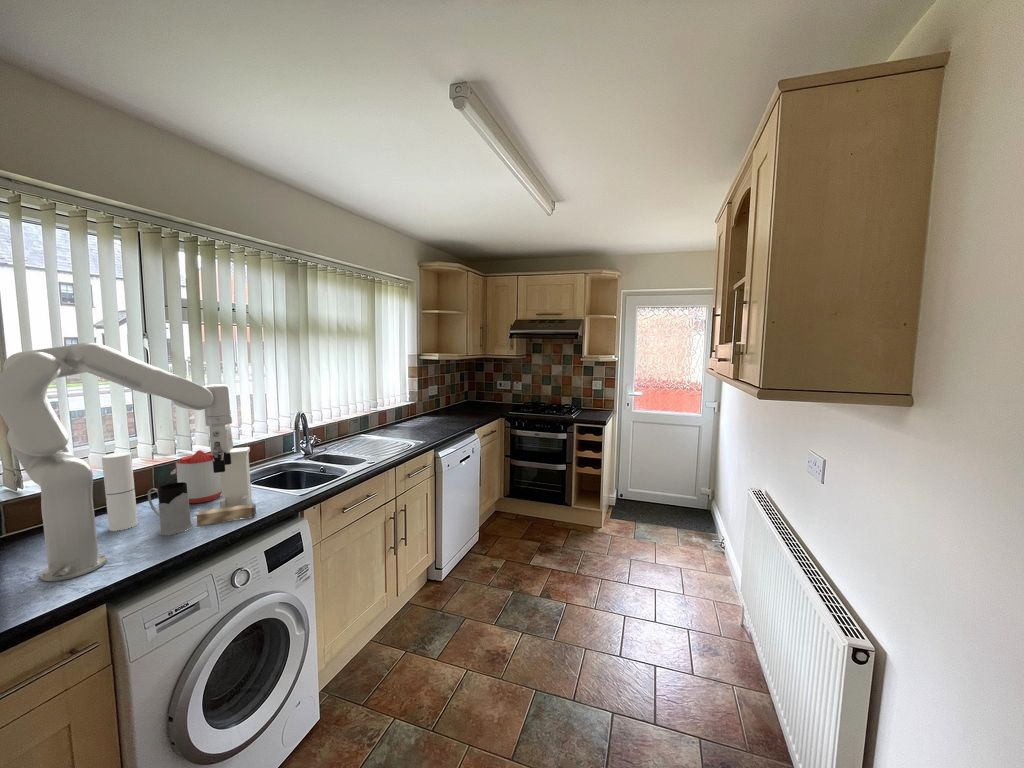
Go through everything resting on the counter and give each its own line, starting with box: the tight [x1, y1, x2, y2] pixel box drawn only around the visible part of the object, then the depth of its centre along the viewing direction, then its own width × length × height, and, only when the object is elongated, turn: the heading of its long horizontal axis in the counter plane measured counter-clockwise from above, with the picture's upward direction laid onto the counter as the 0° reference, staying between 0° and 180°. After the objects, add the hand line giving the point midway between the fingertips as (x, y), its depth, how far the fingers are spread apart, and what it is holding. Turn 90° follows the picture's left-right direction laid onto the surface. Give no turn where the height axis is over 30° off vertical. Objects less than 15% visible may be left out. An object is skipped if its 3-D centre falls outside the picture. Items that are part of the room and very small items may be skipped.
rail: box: [196, 503, 257, 526], centre depth 147 cm, size 17×4×4 cm, turn 113°
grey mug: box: [147, 482, 194, 536], centre depth 139 cm, size 9×14×15 cm, turn 80°
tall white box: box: [219, 446, 253, 508], centre depth 157 cm, size 10×9×22 cm
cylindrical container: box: [101, 451, 138, 532], centre depth 140 cm, size 7×7×25 cm
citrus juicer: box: [170, 450, 222, 504], centre depth 166 cm, size 16×17×20 cm
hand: (222, 468), depth 145 cm, fingers open, 9 cm apart
